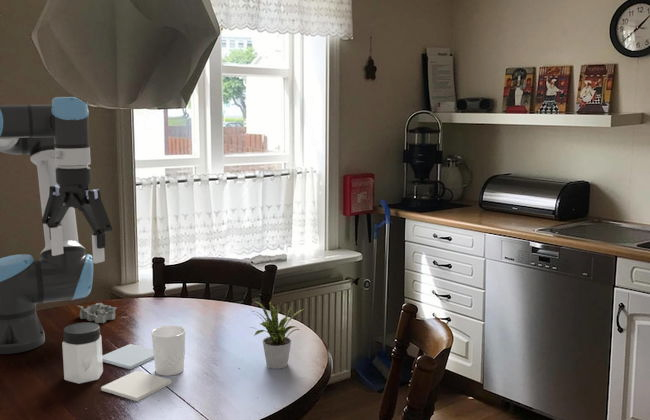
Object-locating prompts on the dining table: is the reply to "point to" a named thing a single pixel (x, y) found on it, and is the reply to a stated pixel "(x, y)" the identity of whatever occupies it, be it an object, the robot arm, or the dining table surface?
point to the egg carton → (101, 310)
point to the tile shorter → (136, 385)
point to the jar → (82, 352)
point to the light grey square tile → (129, 356)
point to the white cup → (168, 350)
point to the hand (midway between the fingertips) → (78, 258)
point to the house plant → (276, 338)
